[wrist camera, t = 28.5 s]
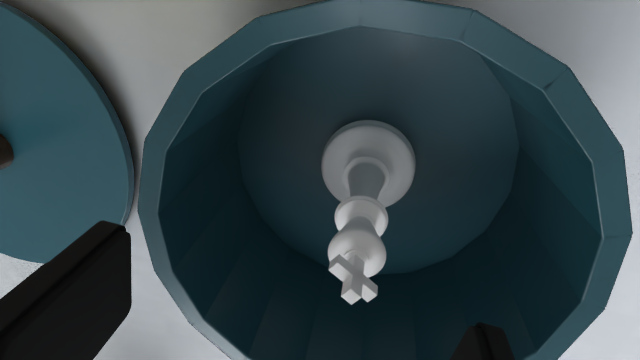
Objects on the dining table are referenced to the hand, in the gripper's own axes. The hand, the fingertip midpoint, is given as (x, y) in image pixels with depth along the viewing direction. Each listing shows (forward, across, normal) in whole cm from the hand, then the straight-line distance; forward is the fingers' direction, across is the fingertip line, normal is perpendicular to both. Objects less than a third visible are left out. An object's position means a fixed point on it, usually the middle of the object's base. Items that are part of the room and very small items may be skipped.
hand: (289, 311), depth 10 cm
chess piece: (+11, -2, 0) cm, 11 cm away
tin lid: (+12, +20, +5) cm, 23 cm away
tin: (+12, -2, 0) cm, 12 cm away
